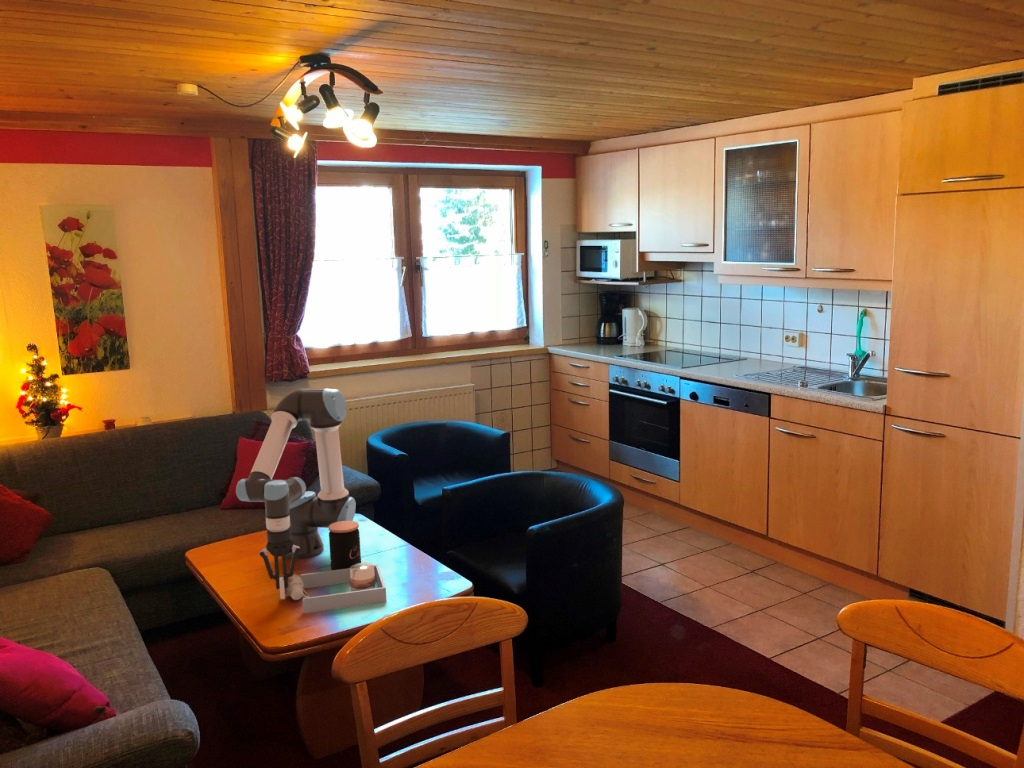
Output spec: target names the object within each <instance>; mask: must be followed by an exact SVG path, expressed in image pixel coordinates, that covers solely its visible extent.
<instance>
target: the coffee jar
mask: <svg viewBox="0 0 1024 768" xmlns="http://www.w3.org/2000/svg"><path fill="white" fill-rule="evenodd" d="M359 527H360V524H359V522H357V521H355V520H353V521H339V522H335V523H332V524H331V525H329V526H328V528H327V529H328V531H329V533H328V539H329V556H330V571H332V570H340V569H347V568H350V567H351V566H352V565H354V564H358V563H362V553H361V541H360V540H361V538H360V537H361V536H360V530H359Z"/></svg>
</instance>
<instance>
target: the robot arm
mask: <svg viewBox="0 0 1024 768" xmlns="http://www.w3.org/2000/svg"><path fill="white" fill-rule="evenodd" d="M344 396H345V395H344V394H343V393H342V391H340V390H339V389H337V388H299V389H295V390H293V391H290V392H289V393H287V394H286V395H285V396H284V397H282V399H281V400H280V401H279V402H278V403H277V405H276V406H275V407H274V409H273V411H272V413H271V415H270V420H271V423H270V425H269V428H268V430H267V432H266V435H265V438H264V439H263V442H262V445H261V447H260V449H259V452H258V454H257V456H256V459H255V461H254V464H253V466H252V468H251V471H250V473H249V476H248V477H247V478H242V479H240V480H238V481H237V484H236V487H235V494H236V497H237V498H238V500H239V501H241V502H249V503H252V502H254V503H255V502H256V503H257V502H260V503H263V502H264V507H265V526H266V529H267V530H266V545H265V547H264V548H263V549H260V550H259V556H260V557H261V558H262V559H263V562H264V566H265V568H266V571H267V573H268V576H269V579H270V580H274V581H275V589H276V590H279V595H280V600H285V599H286V594H285V590H284V588H287V587H288V578H289V577H292V576H293V574H294V571H295V567H296V561H297V560H304V559H308V558H309V559H310V558H313V557H316V556H319V555H321V554H322V553H323V552H324V551H325V550H324V543H323V540H322V537H321V535H320V533H319V530H318V529H320V528H324V529H326V528H327V529H329V528H328V526H329V525H331V524H332V523H335V522H339V521H354V518H355V514H356V509H357V508H356V505H357V503H356V500H355V498H354V497H352V496H350V493H349V490H348V489H347V488H346V487H345V484H344V473H343V464H342V454H341V453H342V452H341V443H340V432H339V428H340V427H341V425H342V423H343V422H342V421H343V420H345V419H346V416H347V403H346V398H345V397H344ZM299 421H300V422H301V421H308V422H309V428H310V429H312V430H313V431H314V436H315V446H316V455H317V457H316V458H317V466H318V473H319V475H318V476H319V484H320V491H319V492H318V494H316V492H315V491H312V490H311V491H309V490H307V485H306V483H305V481H304V480H303V479H302V478H300V477H297V476H294V477H289V478H287V479H273V477H274V475H275V473H276V470H277V467H278V465H279V463H280V460H281V458H282V455H283V452H284V450H285V447H286V445H287V442H288V441H289V438H290V434H291V432H292V429H294V428H296V427H297V424H298V423H299ZM306 490H307V491H306ZM316 495H317V496H316ZM268 552H269V554H270V555H271V556H272V557H273V561H274V572H273V568H272V565H271V562H270V560H269V556H268ZM280 557H282V571H283V572H282V574H283V575H282V576H281V577H280V563H279V558H280ZM287 559H291V560H290V567H289V571H288V564H287Z"/></svg>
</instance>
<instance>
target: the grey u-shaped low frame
mask: <svg viewBox="0 0 1024 768" xmlns="http://www.w3.org/2000/svg"><path fill="white" fill-rule="evenodd" d="M373 565H374V574H375V580H376V581H377V583H378V587H375V588H374V589H367V590H360V591H352V592H351V591H346V592H339V593H331V594H324V595H317V596H311V597H309V598H303V597H301V599H302V600H301V601H302V612H303V614H304V615H305V614H311V613H317V612H322V611H330V610H337V609H344V608H350V607H357V606H365V605H370V604H376V603H377V604H378V603H383V602H385V603H386V602H387V587H386V585H385V582H384V578H383V576H382V573H381V570H380V567H379V564H373ZM299 577H301V579H302V580H303V584H304V586H303V589H304V590H305V589H309V588H311V589H312V588H316V587H317V588H318V587H326V586H330V585H331V584H333V585H338V583H340V584H345V583H346V582H347V583H351V582H350V568H347V569H340V570H332V571H331V570H326V571H318V572H311V573H303V574H300V575H299ZM347 583H346V584H347ZM331 586H332V585H331Z"/></svg>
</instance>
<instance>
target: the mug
mask: <svg viewBox="0 0 1024 768" xmlns="http://www.w3.org/2000/svg"><path fill="white" fill-rule="evenodd" d="M303 586H304V584H303V580H302V579H301V576H300V575H297V574H294V573H293V576H292V577H289V578H288V587H287V588H284V590H285V596H288V597H290V598H291V599H292V600H293V601H298V600H300V599H302V598H309V597H310V594H309V593H307V591H306V590H305V588H304V589H303Z"/></svg>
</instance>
